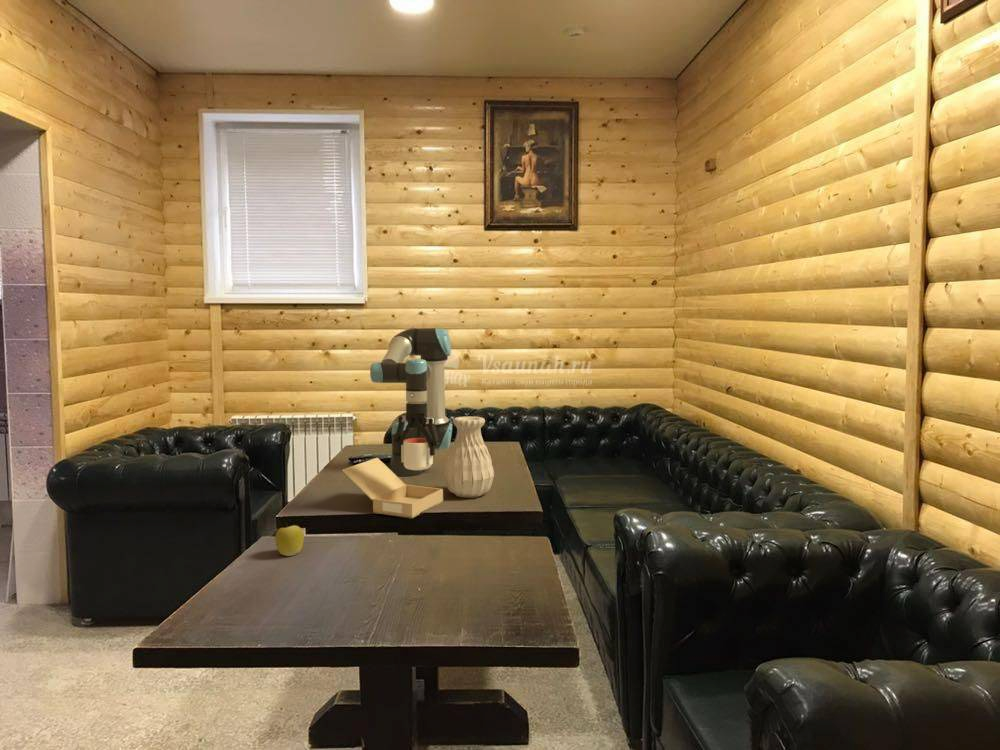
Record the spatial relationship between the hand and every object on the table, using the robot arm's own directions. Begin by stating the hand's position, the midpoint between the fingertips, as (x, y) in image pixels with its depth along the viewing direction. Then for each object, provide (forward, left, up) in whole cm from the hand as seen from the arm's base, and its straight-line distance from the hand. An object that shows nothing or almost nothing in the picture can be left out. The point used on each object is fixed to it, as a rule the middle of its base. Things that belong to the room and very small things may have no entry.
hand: (417, 463), depth 241 cm
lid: (+1, -17, -7) cm, 19 cm away
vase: (-24, +9, -17) cm, 30 cm away
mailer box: (+1, -3, -16) cm, 17 cm away
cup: (0, 0, -2) cm, 2 cm away
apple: (+56, -10, -17) cm, 60 cm away
